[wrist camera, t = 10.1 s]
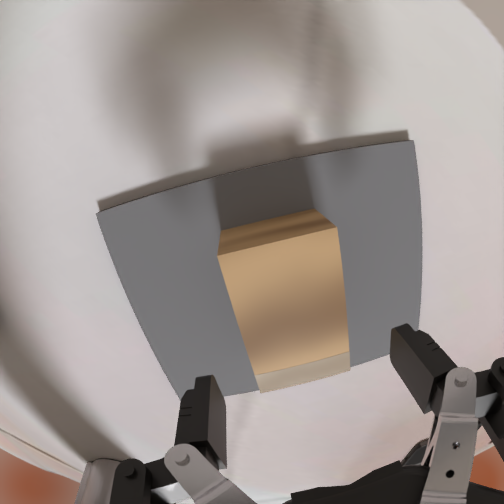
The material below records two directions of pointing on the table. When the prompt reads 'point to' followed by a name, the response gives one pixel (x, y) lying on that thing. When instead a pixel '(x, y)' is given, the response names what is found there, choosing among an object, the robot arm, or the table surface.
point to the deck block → (288, 297)
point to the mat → (258, 209)
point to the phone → (420, 452)
